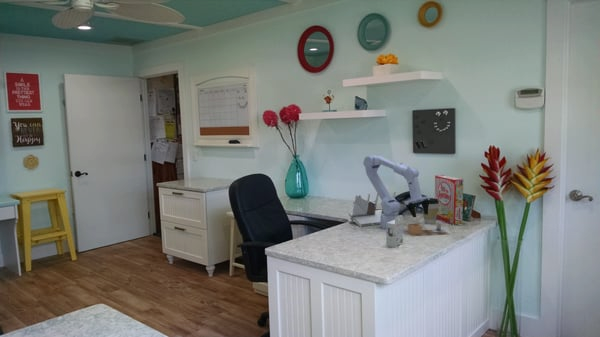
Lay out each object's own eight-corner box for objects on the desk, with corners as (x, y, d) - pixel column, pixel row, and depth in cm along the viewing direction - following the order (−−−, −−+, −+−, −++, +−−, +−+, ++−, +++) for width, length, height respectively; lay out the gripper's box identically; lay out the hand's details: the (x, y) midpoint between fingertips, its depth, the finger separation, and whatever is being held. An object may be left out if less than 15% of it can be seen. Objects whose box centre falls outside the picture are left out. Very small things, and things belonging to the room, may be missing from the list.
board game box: (433, 218, 279) (434, 175, 276) (442, 217, 280) (443, 174, 278) (453, 225, 259) (454, 179, 256) (463, 224, 261) (464, 178, 258)
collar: (412, 234, 234) (412, 226, 234) (408, 232, 240) (408, 224, 239) (422, 234, 235) (422, 225, 234) (418, 231, 240) (418, 223, 240)
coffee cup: (423, 222, 269) (424, 197, 267) (440, 223, 264) (441, 198, 262) (419, 225, 260) (419, 199, 259) (436, 227, 255) (436, 201, 254)
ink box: (394, 242, 224) (394, 213, 222) (403, 244, 221) (403, 214, 219) (385, 246, 217) (385, 216, 216) (394, 247, 214) (395, 217, 213)
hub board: (412, 238, 231) (412, 228, 230) (403, 233, 243) (403, 223, 242) (450, 236, 234) (450, 226, 233) (440, 231, 246) (440, 221, 245)
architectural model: (342, 215, 277) (347, 184, 269) (382, 211, 288) (388, 181, 279) (357, 232, 260) (363, 199, 252) (399, 227, 271) (406, 196, 262)
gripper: (407, 192, 232) (413, 218, 231) (430, 187, 238) (436, 212, 236) (400, 193, 239) (405, 218, 238) (422, 188, 244) (428, 213, 243)
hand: (420, 215), depth 237 cm, fingers open, 7 cm apart
